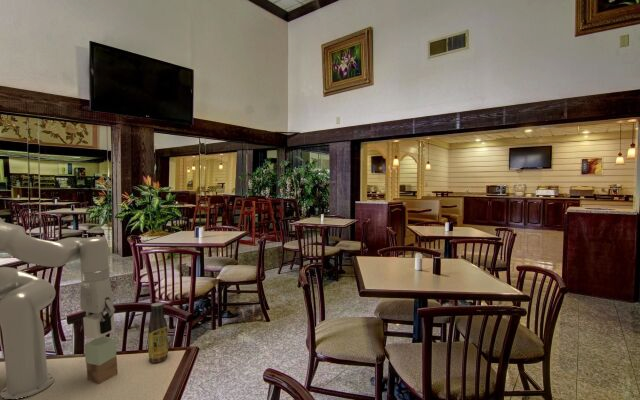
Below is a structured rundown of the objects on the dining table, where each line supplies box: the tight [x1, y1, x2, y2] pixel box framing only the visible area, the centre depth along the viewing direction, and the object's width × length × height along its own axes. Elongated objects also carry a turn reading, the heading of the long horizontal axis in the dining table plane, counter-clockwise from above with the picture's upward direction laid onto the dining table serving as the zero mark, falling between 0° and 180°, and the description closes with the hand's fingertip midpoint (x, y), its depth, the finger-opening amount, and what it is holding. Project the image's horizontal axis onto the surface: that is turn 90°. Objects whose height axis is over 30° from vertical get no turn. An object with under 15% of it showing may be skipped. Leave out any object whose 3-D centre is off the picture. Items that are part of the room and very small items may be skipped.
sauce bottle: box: [147, 302, 169, 364], centre depth 120 cm, size 6×6×20 cm
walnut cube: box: [85, 355, 119, 385], centre depth 110 cm, size 6×6×6 cm
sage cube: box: [84, 335, 117, 365], centre depth 109 cm, size 6×6×6 cm
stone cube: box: [82, 312, 116, 340], centre depth 109 cm, size 6×6×6 cm
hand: (99, 329), depth 109 cm, fingers closed on stone cube, 6 cm apart
